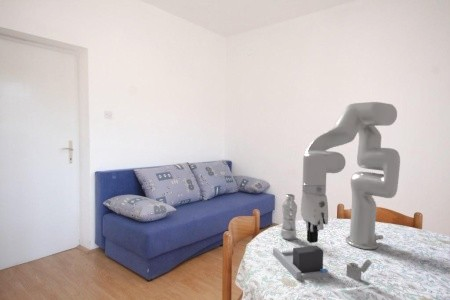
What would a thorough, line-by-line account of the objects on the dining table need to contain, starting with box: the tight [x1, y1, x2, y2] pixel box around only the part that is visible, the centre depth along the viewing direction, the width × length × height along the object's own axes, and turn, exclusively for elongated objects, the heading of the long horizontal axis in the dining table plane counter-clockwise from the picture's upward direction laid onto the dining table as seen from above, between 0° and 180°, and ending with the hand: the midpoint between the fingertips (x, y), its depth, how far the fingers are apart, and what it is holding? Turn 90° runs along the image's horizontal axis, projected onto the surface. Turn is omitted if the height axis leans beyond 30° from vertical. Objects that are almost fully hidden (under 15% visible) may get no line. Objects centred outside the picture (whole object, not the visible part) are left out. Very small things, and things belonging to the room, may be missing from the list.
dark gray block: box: [292, 245, 324, 273], centre depth 91 cm, size 9×4×7 cm, turn 104°
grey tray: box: [272, 247, 330, 281], centre depth 94 cm, size 12×18×3 cm, turn 14°
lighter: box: [346, 259, 373, 282], centre depth 85 cm, size 7×2×8 cm, turn 39°
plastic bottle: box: [280, 193, 298, 241], centre depth 118 cm, size 6×7×20 cm
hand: (312, 241), depth 91 cm, fingers closed
